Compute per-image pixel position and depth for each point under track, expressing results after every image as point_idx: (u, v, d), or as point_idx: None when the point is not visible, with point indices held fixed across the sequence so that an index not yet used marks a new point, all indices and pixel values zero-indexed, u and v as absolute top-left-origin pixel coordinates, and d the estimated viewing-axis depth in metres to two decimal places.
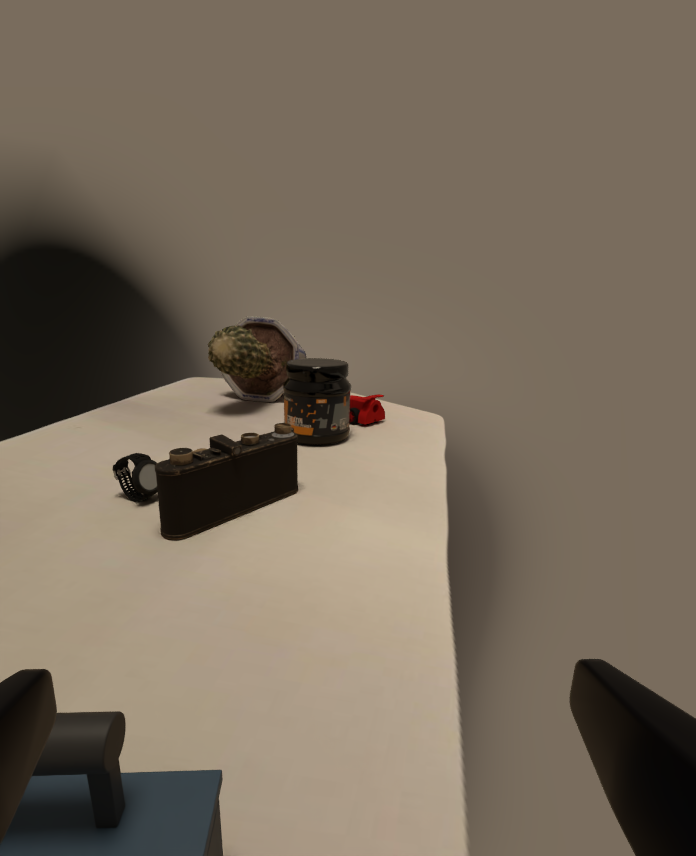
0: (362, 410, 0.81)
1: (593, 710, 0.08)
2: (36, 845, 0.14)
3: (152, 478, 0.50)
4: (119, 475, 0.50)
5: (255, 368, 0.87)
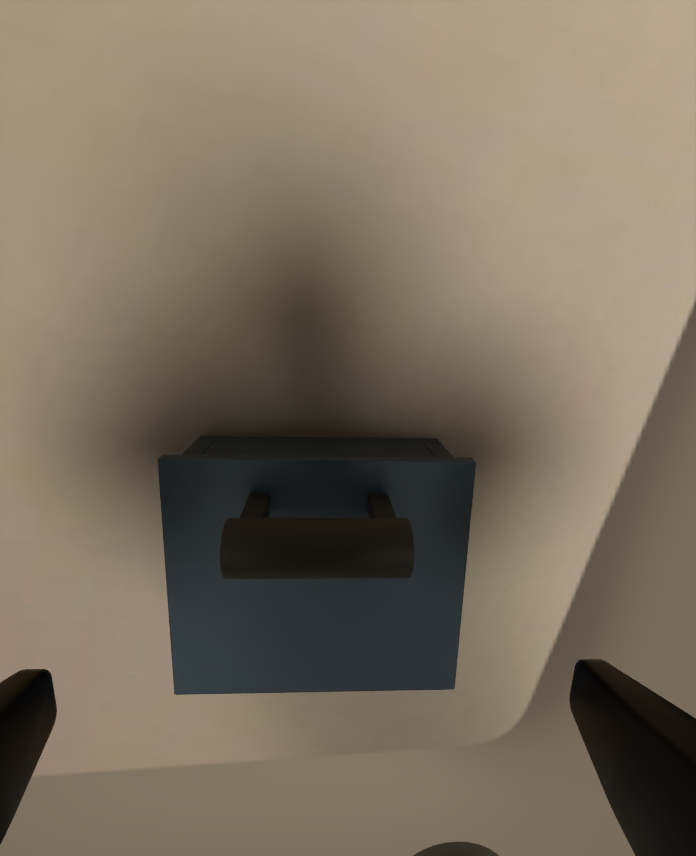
0: None
1: (593, 710, 0.08)
2: None
3: None
4: None
5: None
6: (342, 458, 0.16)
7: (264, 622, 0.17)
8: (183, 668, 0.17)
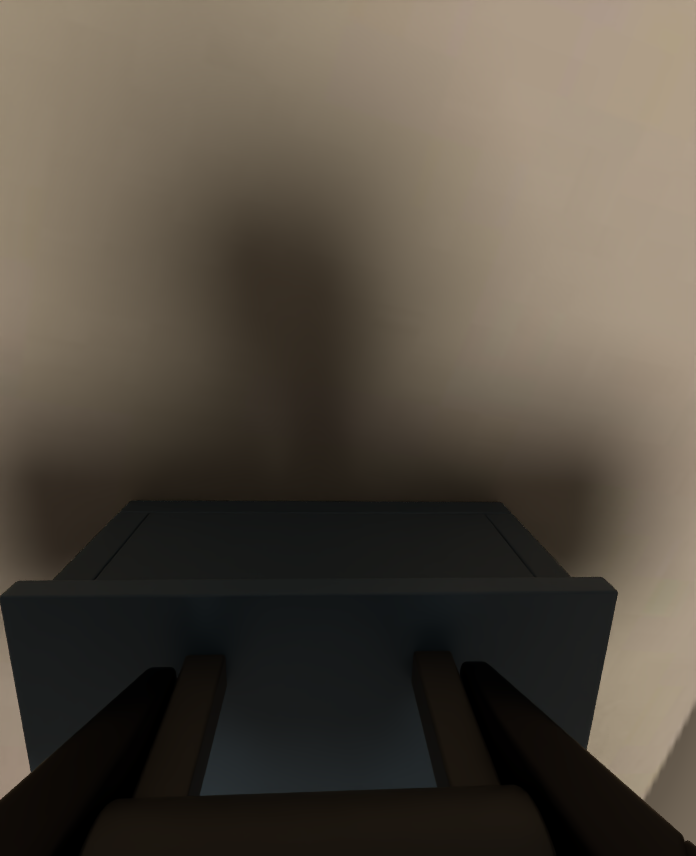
0: None
1: None
2: (323, 702, 0.08)
3: None
4: None
5: None
6: (365, 586, 0.08)
7: None
8: None
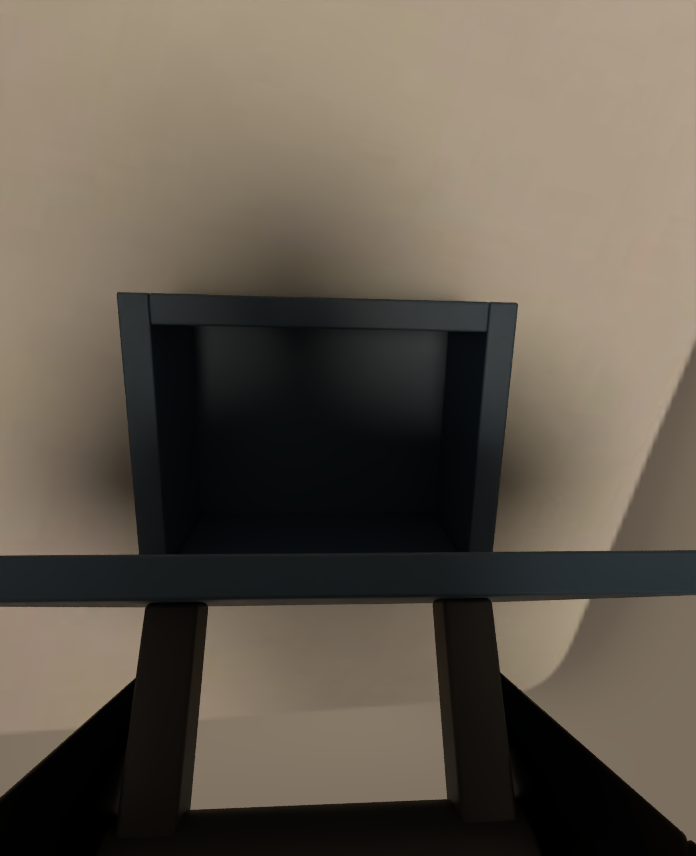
0: None
1: None
2: None
3: None
4: None
5: None
6: (390, 580, 0.05)
7: None
8: None
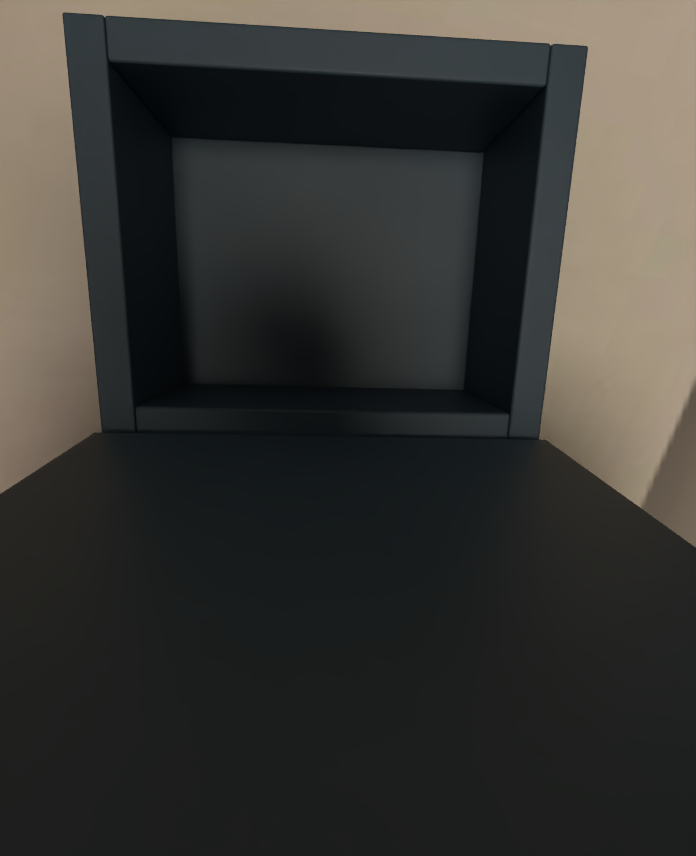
0: None
1: None
2: None
3: None
4: None
5: None
6: None
7: None
8: None
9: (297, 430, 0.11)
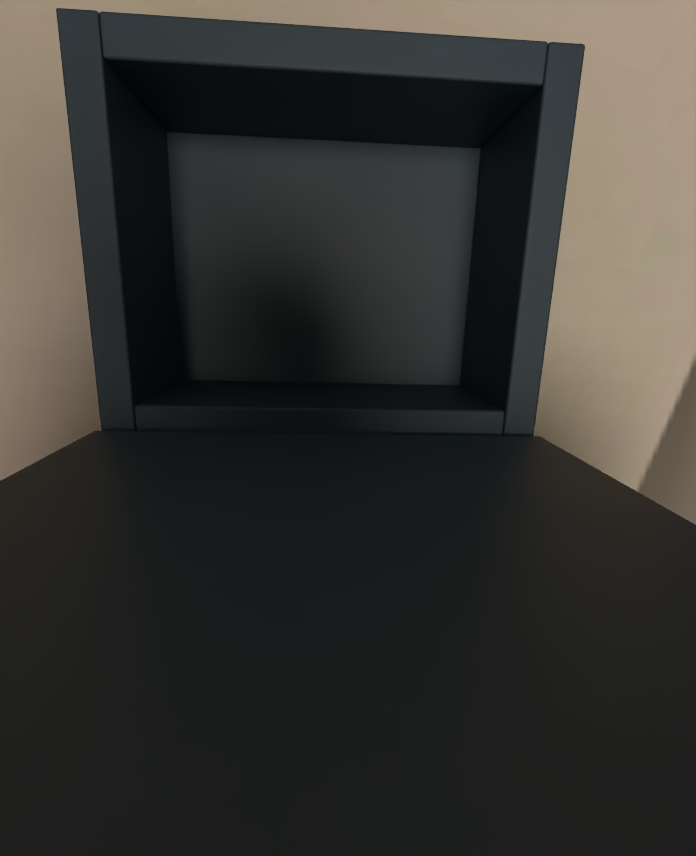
0: None
1: None
2: None
3: None
4: None
5: None
6: None
7: None
8: None
9: (295, 428, 0.11)
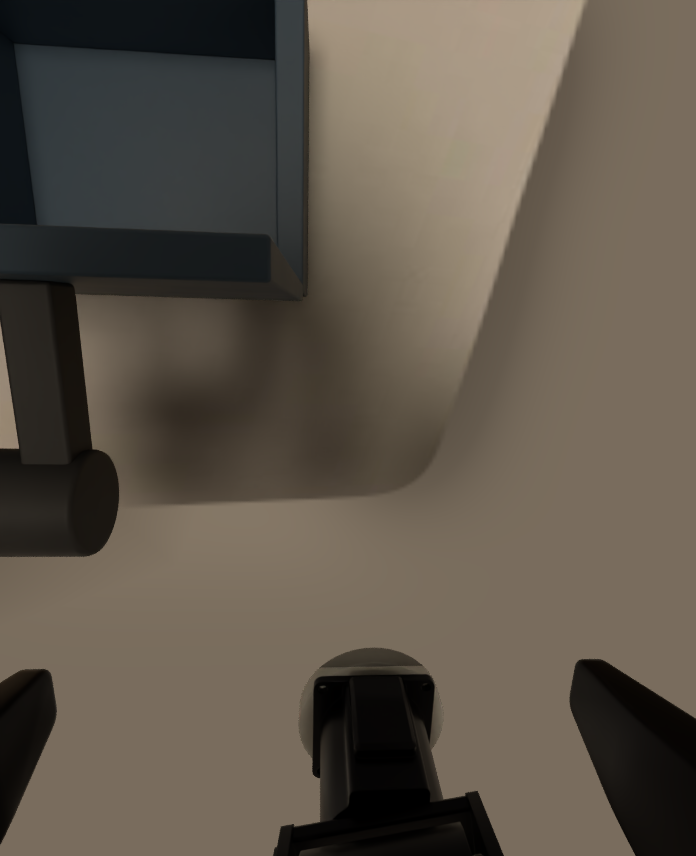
0: None
1: (593, 710, 0.08)
2: None
3: None
4: None
5: None
6: None
7: None
8: None
9: None
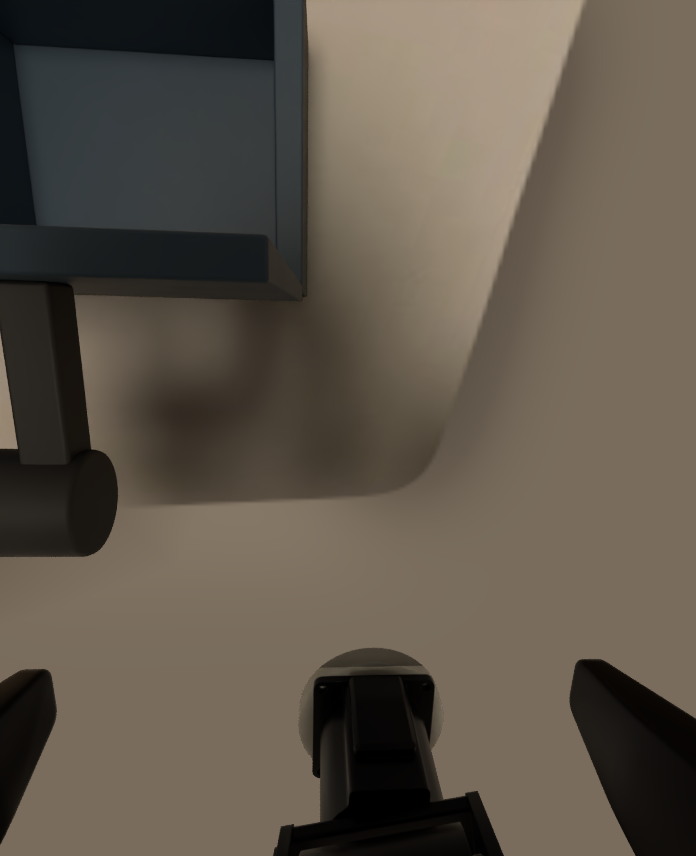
0: None
1: (593, 710, 0.08)
2: None
3: None
4: None
5: None
6: None
7: None
8: None
9: None
